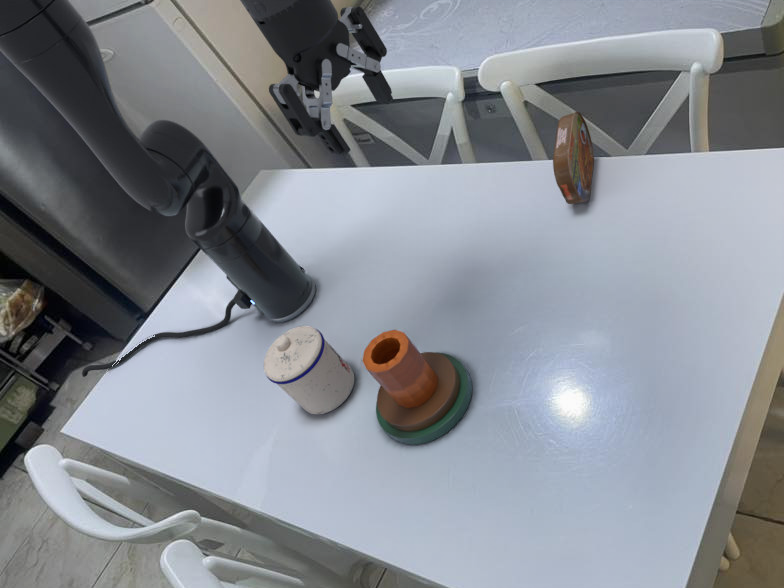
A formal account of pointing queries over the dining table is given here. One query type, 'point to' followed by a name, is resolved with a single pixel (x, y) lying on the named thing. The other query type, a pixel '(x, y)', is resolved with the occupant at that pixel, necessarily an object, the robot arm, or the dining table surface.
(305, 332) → the teacup with lid
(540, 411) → the dining table surface
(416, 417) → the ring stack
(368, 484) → the dining table surface
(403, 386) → the orange hollow cylinder
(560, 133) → the tin
